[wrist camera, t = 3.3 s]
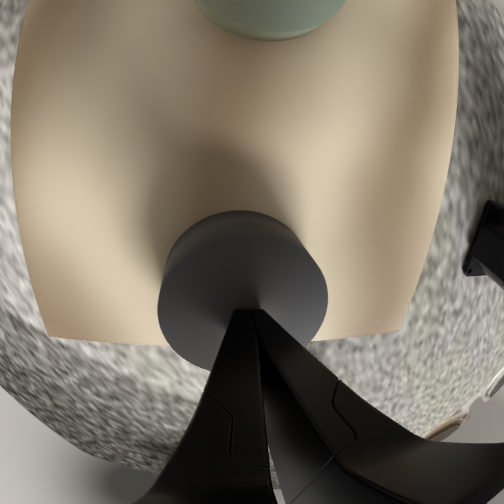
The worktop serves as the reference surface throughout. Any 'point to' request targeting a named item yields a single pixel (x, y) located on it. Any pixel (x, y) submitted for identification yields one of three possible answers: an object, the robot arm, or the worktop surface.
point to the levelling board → (230, 163)
